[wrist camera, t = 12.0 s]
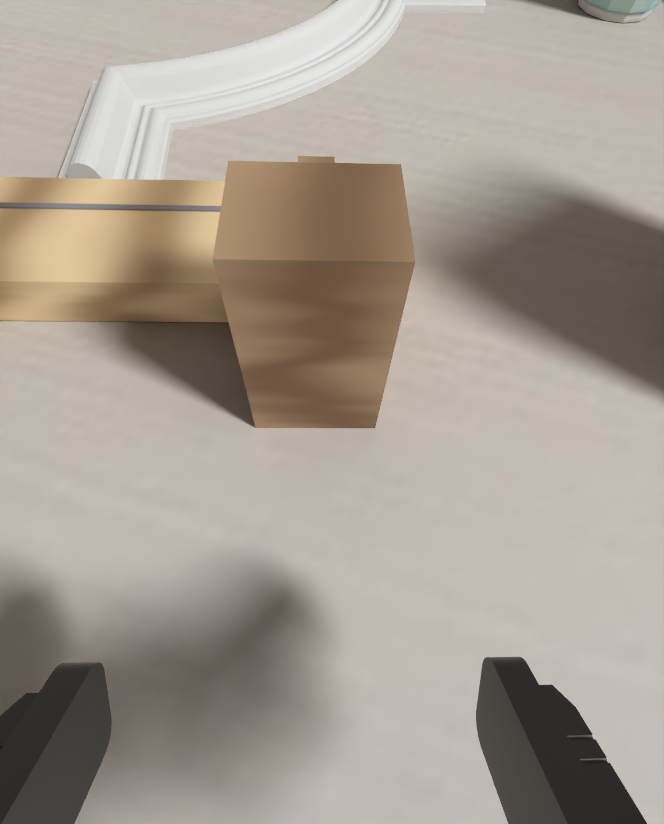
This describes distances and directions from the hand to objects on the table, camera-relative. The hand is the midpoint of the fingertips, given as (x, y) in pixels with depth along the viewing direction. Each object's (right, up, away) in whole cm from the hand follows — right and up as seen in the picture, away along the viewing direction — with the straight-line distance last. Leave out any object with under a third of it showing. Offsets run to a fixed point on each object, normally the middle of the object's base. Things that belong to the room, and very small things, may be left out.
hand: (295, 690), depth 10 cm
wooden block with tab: (0, +10, +12) cm, 16 cm away
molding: (-1, +31, +25) cm, 40 cm away
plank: (-8, +13, +14) cm, 21 cm away
